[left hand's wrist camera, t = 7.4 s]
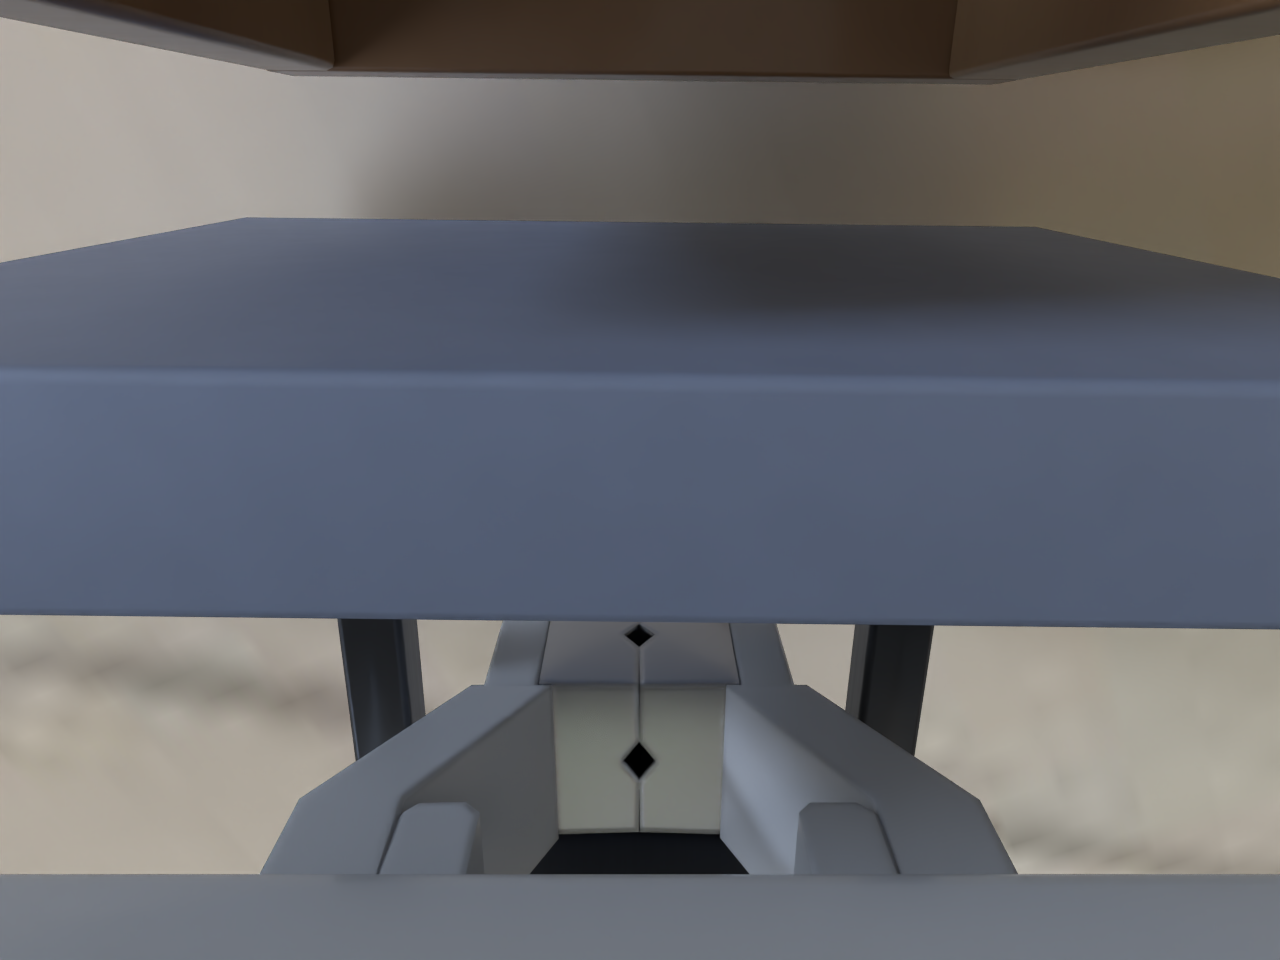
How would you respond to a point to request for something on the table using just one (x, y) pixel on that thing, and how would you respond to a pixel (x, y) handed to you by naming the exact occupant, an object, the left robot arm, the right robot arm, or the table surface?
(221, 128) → the table surface
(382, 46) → the drawer
